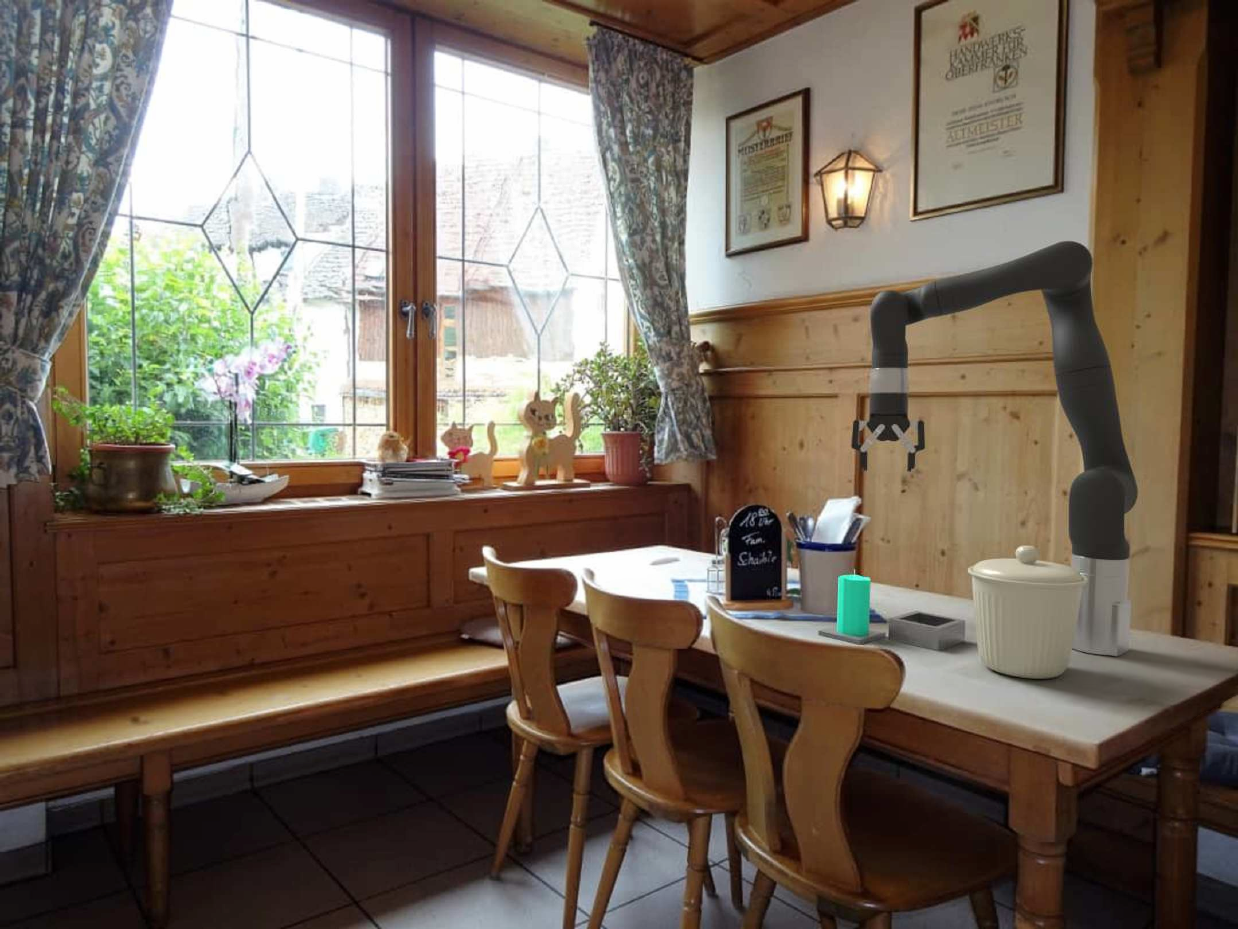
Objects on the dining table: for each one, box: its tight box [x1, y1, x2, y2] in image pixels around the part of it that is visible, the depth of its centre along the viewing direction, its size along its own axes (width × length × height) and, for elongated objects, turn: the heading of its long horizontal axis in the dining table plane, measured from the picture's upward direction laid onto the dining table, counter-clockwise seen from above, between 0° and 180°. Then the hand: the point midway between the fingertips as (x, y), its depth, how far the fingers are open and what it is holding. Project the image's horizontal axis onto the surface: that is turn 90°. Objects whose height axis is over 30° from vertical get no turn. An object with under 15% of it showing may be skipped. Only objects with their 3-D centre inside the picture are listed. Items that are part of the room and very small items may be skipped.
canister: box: [967, 545, 1088, 680], centre depth 144 cm, size 18×18×21 cm
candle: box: [836, 568, 871, 635], centre depth 165 cm, size 6×6×12 cm
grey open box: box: [887, 610, 966, 651], centre depth 163 cm, size 10×10×4 cm
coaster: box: [817, 625, 887, 645], centre depth 166 cm, size 9×9×1 cm
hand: (887, 471), depth 176 cm, fingers open, 8 cm apart
